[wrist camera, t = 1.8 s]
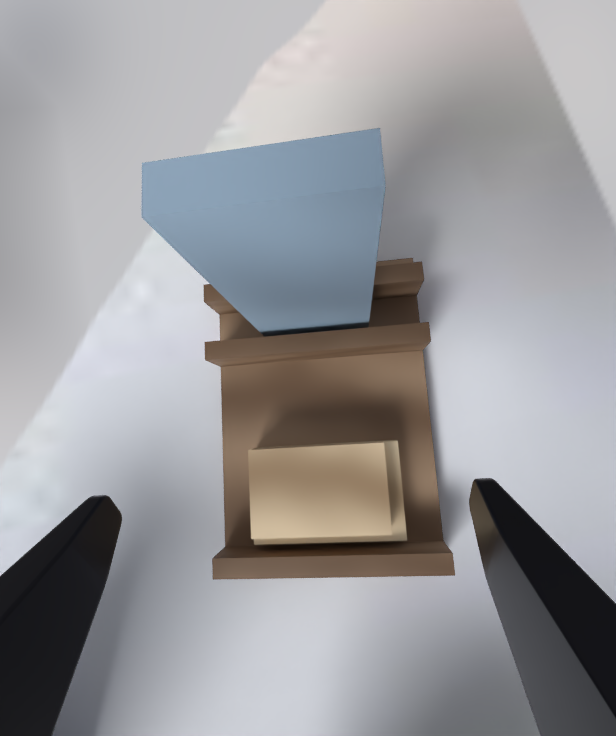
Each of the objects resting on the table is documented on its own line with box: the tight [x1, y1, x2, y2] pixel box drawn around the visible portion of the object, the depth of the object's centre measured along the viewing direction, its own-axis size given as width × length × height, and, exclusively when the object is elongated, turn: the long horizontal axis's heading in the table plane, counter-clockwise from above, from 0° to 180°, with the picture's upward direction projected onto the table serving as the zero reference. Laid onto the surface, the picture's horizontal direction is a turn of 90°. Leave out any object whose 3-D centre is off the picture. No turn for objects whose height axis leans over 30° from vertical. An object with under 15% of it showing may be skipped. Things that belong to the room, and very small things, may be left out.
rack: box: [204, 258, 455, 579], centre depth 21 cm, size 17×12×3 cm
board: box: [142, 128, 386, 337], centre depth 16 cm, size 2×6×14 cm, turn 94°
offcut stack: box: [248, 440, 407, 545], centre depth 20 cm, size 5×8×2 cm, turn 94°
